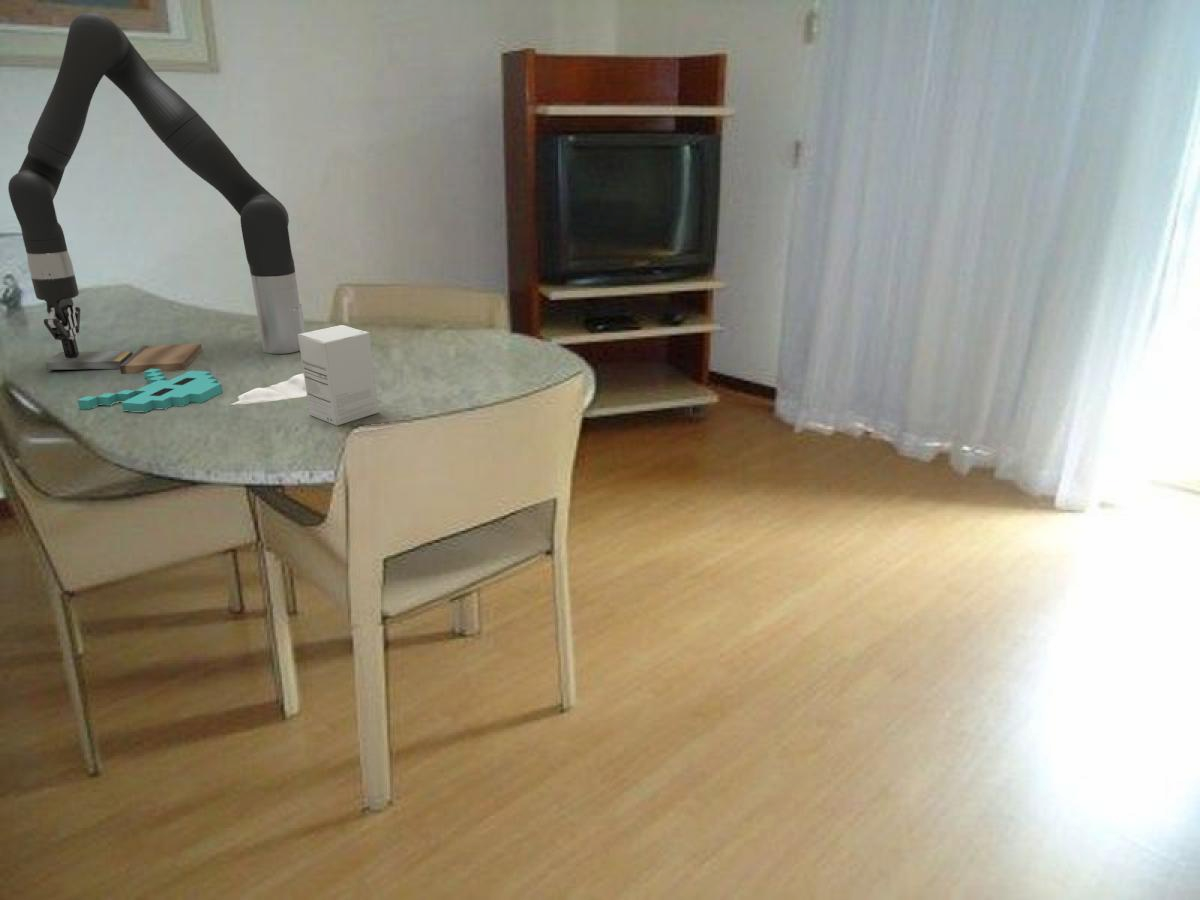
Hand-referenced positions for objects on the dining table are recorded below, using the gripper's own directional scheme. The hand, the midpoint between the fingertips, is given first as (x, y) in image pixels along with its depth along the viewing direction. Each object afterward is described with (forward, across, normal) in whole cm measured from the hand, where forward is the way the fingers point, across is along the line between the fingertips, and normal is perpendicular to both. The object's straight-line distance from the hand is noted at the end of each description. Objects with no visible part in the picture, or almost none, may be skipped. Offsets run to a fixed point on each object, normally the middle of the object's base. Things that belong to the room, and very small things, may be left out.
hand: (72, 356), depth 174 cm
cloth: (+3, -24, -47) cm, 53 cm away
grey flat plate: (+2, 0, -3) cm, 4 cm away
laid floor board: (+2, 0, -18) cm, 18 cm away
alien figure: (+3, -24, -24) cm, 34 cm away
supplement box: (+2, -42, -58) cm, 72 cm away
